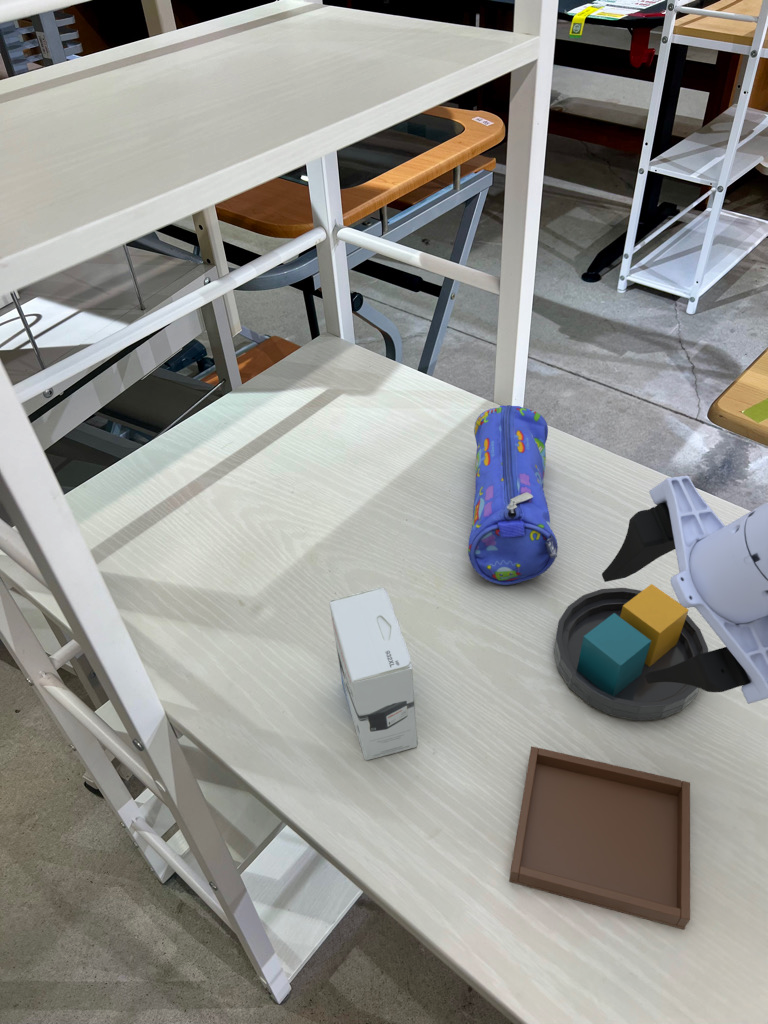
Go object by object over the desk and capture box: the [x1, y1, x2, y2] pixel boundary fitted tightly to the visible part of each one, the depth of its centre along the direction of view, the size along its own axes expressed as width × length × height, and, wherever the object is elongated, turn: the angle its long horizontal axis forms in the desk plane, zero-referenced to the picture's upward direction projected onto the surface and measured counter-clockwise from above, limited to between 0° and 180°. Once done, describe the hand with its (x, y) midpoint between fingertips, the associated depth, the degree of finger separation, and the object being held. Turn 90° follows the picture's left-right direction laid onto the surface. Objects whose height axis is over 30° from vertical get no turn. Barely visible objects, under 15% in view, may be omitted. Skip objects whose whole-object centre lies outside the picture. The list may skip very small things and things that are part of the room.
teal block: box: [577, 613, 651, 697], centre depth 65 cm, size 4×4×5 cm
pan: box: [553, 587, 709, 721], centre depth 67 cm, size 13×13×2 cm
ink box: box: [328, 586, 419, 761], centre depth 62 cm, size 8×5×12 cm, turn 15°
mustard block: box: [620, 583, 689, 667], centre depth 67 cm, size 4×4×5 cm
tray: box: [508, 746, 691, 930], centre depth 56 cm, size 12×10×2 cm
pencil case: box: [467, 405, 559, 586], centre depth 79 cm, size 22×9×10 cm, turn 173°
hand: (634, 624), depth 54 cm, fingers open, 7 cm apart
